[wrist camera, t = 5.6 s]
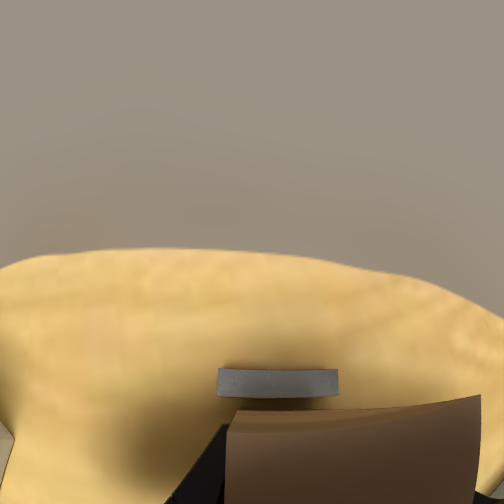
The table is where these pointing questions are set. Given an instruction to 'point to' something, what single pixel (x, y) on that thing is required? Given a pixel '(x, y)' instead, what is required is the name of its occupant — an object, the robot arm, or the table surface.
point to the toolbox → (499, 492)
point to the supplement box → (4, 448)
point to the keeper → (277, 383)
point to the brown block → (355, 455)
